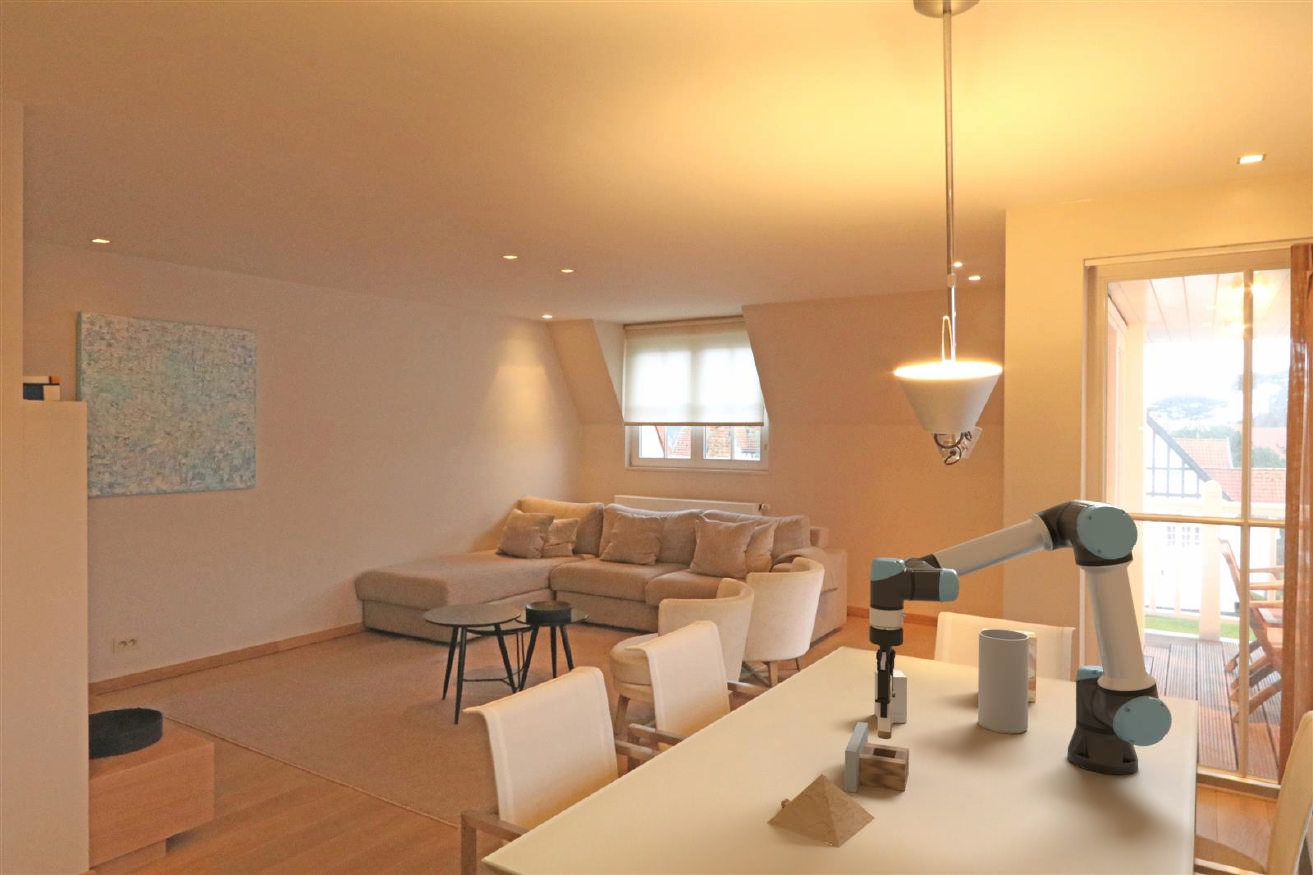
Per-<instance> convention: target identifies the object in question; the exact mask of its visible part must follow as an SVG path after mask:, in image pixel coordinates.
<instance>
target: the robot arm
mask: <svg viewBox="0 0 1313 875" xmlns="http://www.w3.org/2000/svg"><path fill="white" fill-rule="evenodd" d="M1138 535H1139V534H1138V528H1137V526H1136V522H1135V521H1134V519H1133V518H1132V516H1131V515H1130V514H1129V513H1128V512H1127V511H1126V510H1124V509H1122V508H1121V507H1118V506H1117V505H1114V504H1111V503H1108V502H1099V501H1092V500H1086V499H1073V500H1068V501H1066V502H1063V503H1060V504H1057V505H1054V506H1051V507H1049V508H1045V509H1043V510H1040V511H1038V512H1034V513H1033V514H1031V515H1030V517H1029V519H1027V520H1026V521H1022V522H1019V523H1017V524H1013V525H1011V526H1008V527H1005V528H1002V529H999V530H996V531H993V532H991V533H988V534H983V535H982V536H979V537H976V538H973V539H970V540H968V541H964V542H962V543H958V544H956V545H953V546H949V547H947V548H945V549H941V550H938V551H935V552H933V553H930V554H926V555H923V556H920V557H915V556H912V557H907V558H905V559H901V558H896V557H885V556H884V557H876V558H874V559H872V561H871V563H870V564H871V565H870V573H869V574H870V575H869V589H870V590H869V608H868V609H869V610H868V611H869V613H868V614H869V618H868V623H869V624H870V626H869V630H868V631H869V635H868V636H869V637H868V640H869V642H870V643H871V644H872V645H877V646H879V648H877V651H876V653H875V654H876V655H875V657H876V660H877V661H876V670H877V671H878V674H877V699H875V698H874V703H875V702H877V703H878V718H877V732H878V731H884V732H890V715H891V703H890V675H891V676H892V692H893V670H895V658H896V656H897V655H896V653H897V652H896V650H895V648H893V647H900V646H901V645H903V643H904V628H903V625H904V618H906V617H907V613H906V612H904V608H905V606H904V605H905V601H907V602H934V603H935V602H938V603H945V602H946V603H947V602H955V601H957V599H958V597H959V596H960V595H959V594H960V579H959V578H962V577H965V576H968V575H971V574H974V573H977V572H981V571H983V570H986V569H988V568H992V567H994V566H998V565H1000V564H1004V563H1007V562H1010V561H1012V560H1016V559H1019V558H1021V557H1024V556H1028V555H1030V554H1034V553H1037V552H1039V551H1045V552H1047V553H1049V552H1050V553H1051V552H1052V551H1053V552H1054V551H1056V550H1059V549H1071V548H1072V551H1073V555H1074V556H1073V557H1074V561H1075V566H1077V567H1078V568H1079V569H1081V570H1083V572H1084V574H1085V579H1086V580H1085V582H1086V585H1087V591H1088V597H1089V602H1090V608H1091V613H1092V619H1093V624H1094V630H1095V634H1096V640H1097V645H1098V651H1099V656H1100V661H1101V665H1082V666H1080V667H1078V669H1077V670H1076V677H1075V728H1074V730H1073V733H1072V735H1071V739H1070V741H1069V743H1068V746H1067V759H1068V760H1069V761H1070V762H1071V763H1072V764H1074V765H1076V766H1078V767H1080V768H1083V769H1085V770H1088V771H1092V772H1097V773H1101V774H1107V775H1128V774H1133V773H1136V772H1138V769H1139V758H1138V754H1137V751H1136V749H1135V746H1136V747H1137V746H1138V747H1149V746H1153V745H1156V744H1158V743H1160V741H1163V740H1164V738H1165V737H1166V735H1168V733H1169V732H1170V730H1171V728H1172V720H1173V718H1172V713H1171V711H1170V709H1169V707H1168V706H1167V704H1166V703H1165V702H1164V701H1163V700H1161V699H1160V698H1159V692H1158V686H1157V682H1156V679H1155V677H1154V676H1152V675H1151V674H1150V673H1148V672H1147V671H1146V670H1147V669H1146V665H1145V660H1144V653H1143V648H1142V643H1141V638H1140V632H1139V625H1138V621H1137V616H1136V609H1135V603H1134V600H1133V594H1132V588H1131V583H1130V577H1129V572H1128V567H1129V566H1130V565H1131V564H1132V562H1133V561H1134V556H1133V549H1134V547H1135V546H1136V544H1137V541H1138ZM895 695H896V694H895V693H892V697H895ZM892 726H893V723H892V724H891V728H892Z"/></svg>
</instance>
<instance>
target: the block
mask: <svg viewBox="0 0 1313 875" xmlns="http://www.w3.org/2000/svg"><path fill="white" fill-rule="evenodd" d="M909 760H910V748H909V747H901V746H900V747H899V746H893V745H887V744H878V743H871V742H868V743H865V744H864V746H863V749H862V751H861V754H860V757H859V785H862V786H870V787H877V788H882V787H883V789H888V790H896V791H901V792H902V791H903V792H905V791H906V788H907V783H908V779H909V770H910V769H909V767H910V766H909V765H910V761H909Z"/></svg>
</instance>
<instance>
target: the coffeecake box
mask: <svg viewBox="0 0 1313 875" xmlns="http://www.w3.org/2000/svg"><path fill="white" fill-rule="evenodd" d="M986 629H987V628H981V630H986ZM1016 631H1017V632H1021V633H1024V634H1026V635H1028V636H1029V666H1028V702H1031V703H1033V702H1034V703H1036V702H1037V701H1036V700H1037V657H1038V656H1037V655H1038V654H1037V653H1038V652H1037V651H1038V645H1037V644H1038V640H1037V638H1038V637H1037V636H1036V633H1035V632H1034V631H1023V630H1022V631H1021V630H1016Z"/></svg>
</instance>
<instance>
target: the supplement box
mask: <svg viewBox="0 0 1313 875" xmlns="http://www.w3.org/2000/svg"><path fill="white" fill-rule="evenodd" d="M877 674H878V671H877V669H875V670H874V700H875V699H877ZM892 693H895V694H896V695H895V697H892V724H906V723H907V722H908V719H907V718H908V716H907V714H908V711H907V710H908V709H907V708H908V677H907V676H906V675H905V674H904V673H903V672H902V670H900V669H893V692H892ZM873 711H874V715H875V717H876V718H877V719H878V703H877V702H875V701H874V710H873Z"/></svg>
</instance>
